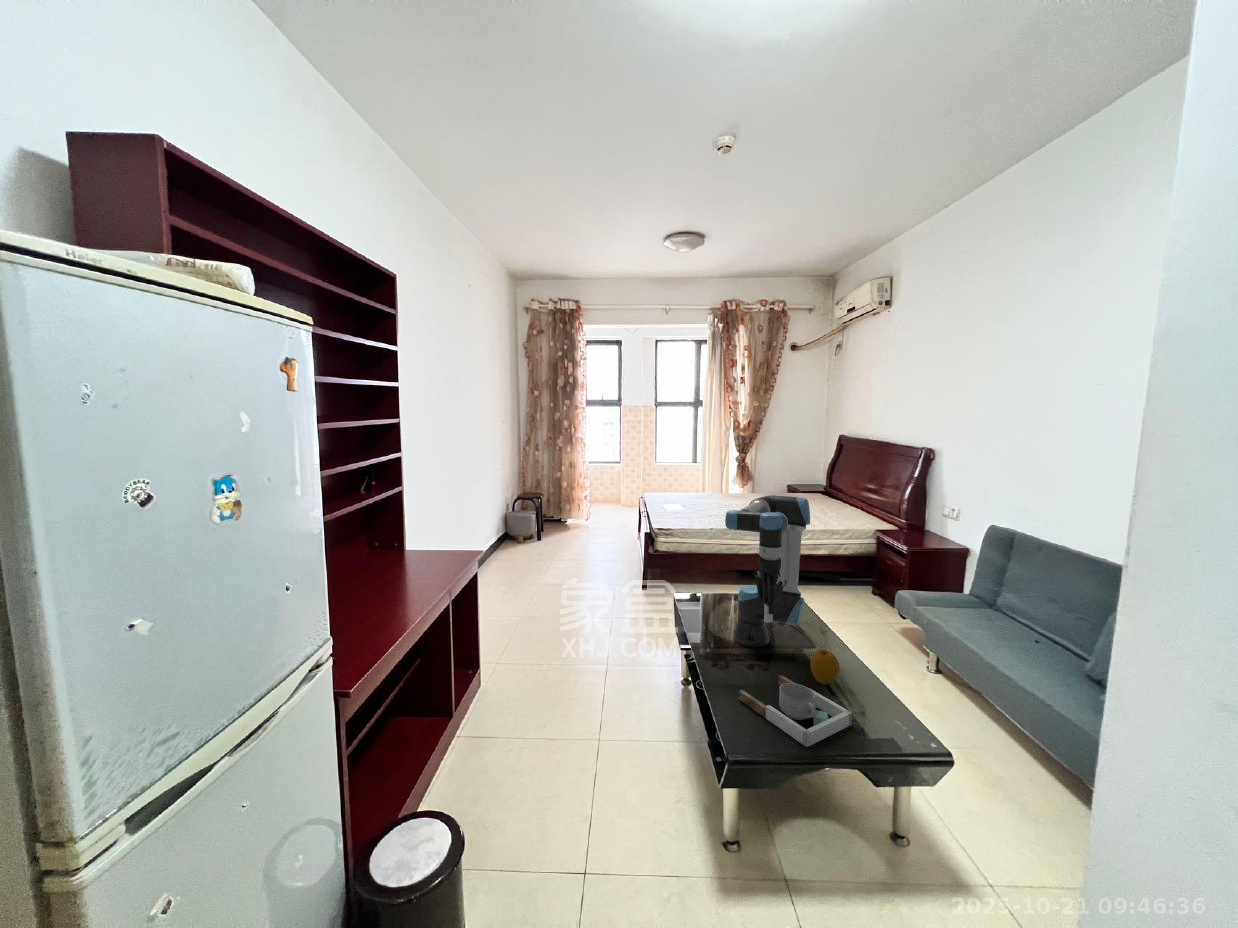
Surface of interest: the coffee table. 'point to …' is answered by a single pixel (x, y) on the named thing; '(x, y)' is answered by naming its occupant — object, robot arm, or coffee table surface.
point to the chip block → (820, 717)
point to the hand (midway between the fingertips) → (768, 621)
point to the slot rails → (754, 702)
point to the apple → (824, 666)
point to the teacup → (797, 701)
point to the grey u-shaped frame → (819, 731)
